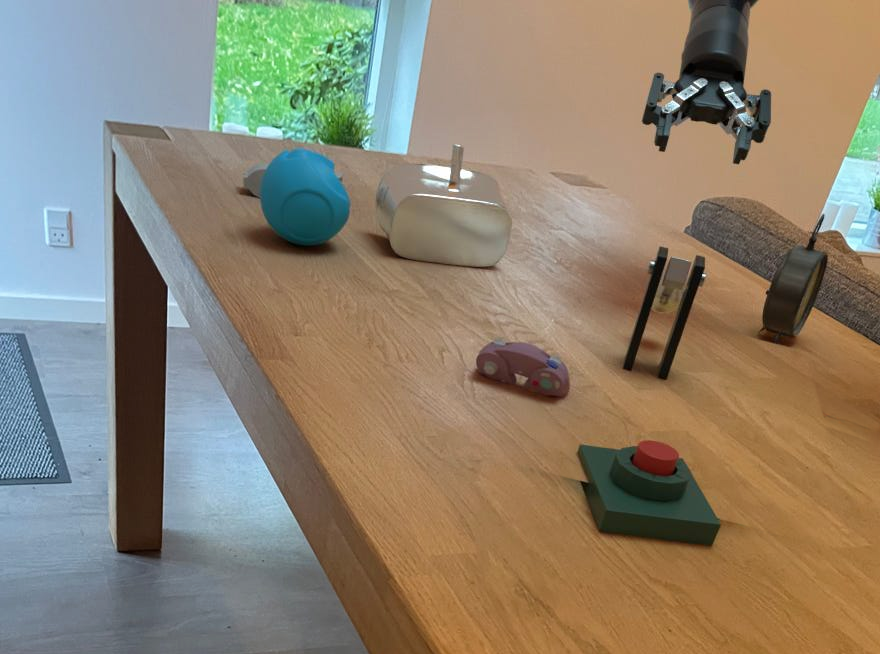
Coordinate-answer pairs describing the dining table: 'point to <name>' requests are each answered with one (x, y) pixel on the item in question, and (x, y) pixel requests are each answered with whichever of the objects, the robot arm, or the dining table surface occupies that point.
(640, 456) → the button
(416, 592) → the dining table surface
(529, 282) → the dining table surface
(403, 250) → the vr headset
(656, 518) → the box
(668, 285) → the lever
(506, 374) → the video game controller
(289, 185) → the teal rounded lump
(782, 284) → the alarm clock
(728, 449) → the dining table surface
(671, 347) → the bracket
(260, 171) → the bunny figurine
